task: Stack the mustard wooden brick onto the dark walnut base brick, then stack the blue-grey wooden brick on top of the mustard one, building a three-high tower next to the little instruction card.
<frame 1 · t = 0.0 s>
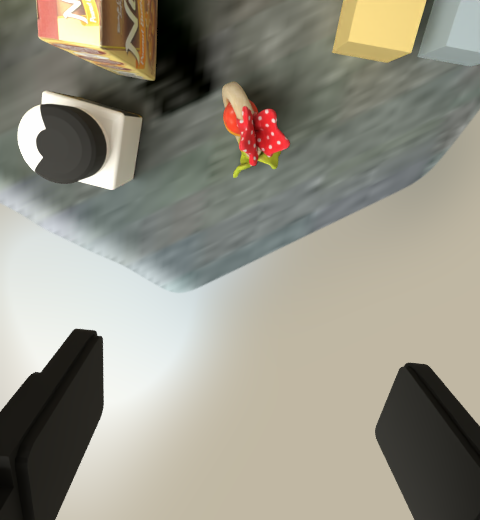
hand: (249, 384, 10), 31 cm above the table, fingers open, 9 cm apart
mustard brick: (367, 24, 33), on the table
candy box: (137, 29, 33), on the table
medicine bottle: (107, 140, 37), on the table
bird rattle: (243, 132, 37), on the table
bluegrey brick: (454, 28, 34), on the table
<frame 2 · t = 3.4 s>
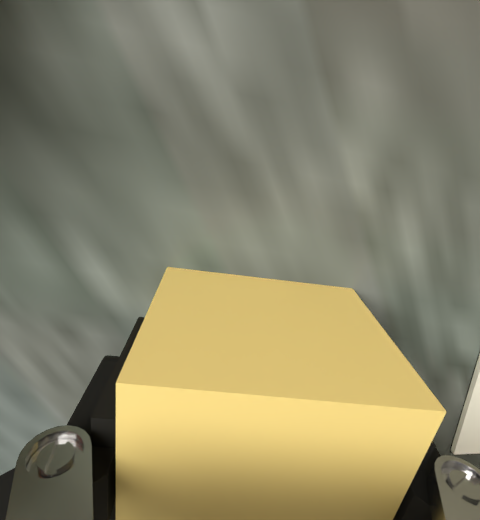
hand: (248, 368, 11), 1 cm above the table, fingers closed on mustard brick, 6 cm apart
mustard brick: (248, 354, 12), on the table, touching gripper
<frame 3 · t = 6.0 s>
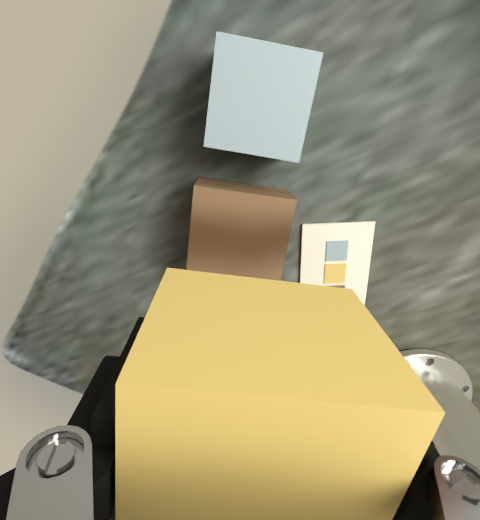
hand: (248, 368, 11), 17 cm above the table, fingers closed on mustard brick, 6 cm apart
base brick: (237, 226, 27), on the table
mustard brick: (247, 354, 12), point 17 cm above the table, touching gripper
instruction card: (334, 272, 29), on the table
bluegrey brick: (254, 106, 24), on the table
when the fingers open (6 cm above the table, at t = 8.5 s): mustard brick stays where it is, resting on base brick.
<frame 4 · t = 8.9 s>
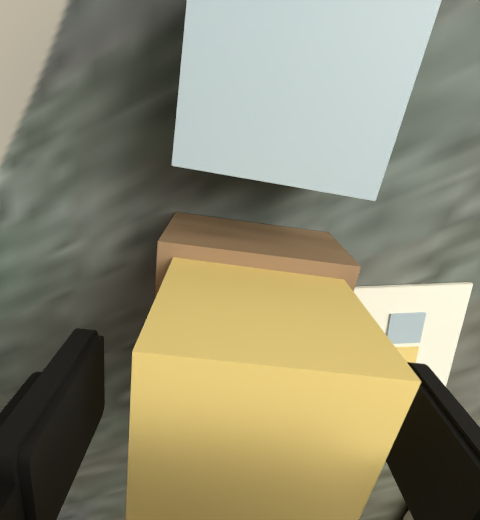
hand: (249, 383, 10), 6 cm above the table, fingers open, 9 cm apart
base brick: (242, 290, 16), on the table
mustard brick: (246, 340, 12), point 4 cm above the table, touching base brick
instruction card: (396, 358, 18), on the table
bluegrey brick: (275, 87, 13), on the table
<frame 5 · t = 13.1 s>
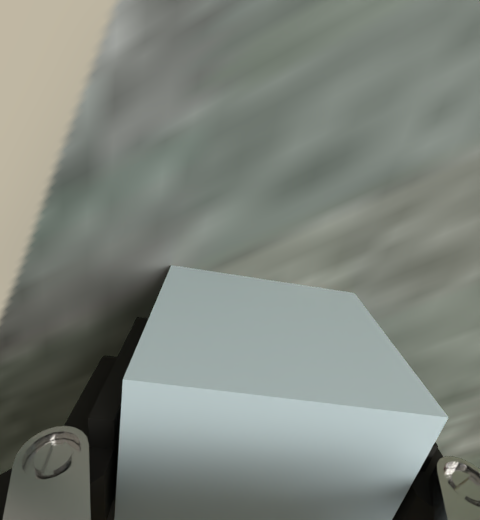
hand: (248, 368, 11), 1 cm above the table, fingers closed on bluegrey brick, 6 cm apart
bluegrey brick: (247, 355, 12), on the table, touching gripper
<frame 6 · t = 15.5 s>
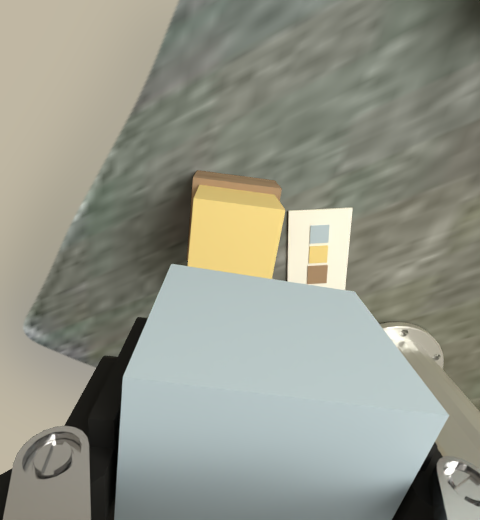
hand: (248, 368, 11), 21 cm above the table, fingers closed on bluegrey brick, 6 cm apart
base brick: (231, 213, 31), on the table
mustard brick: (232, 226, 27), point 4 cm above the table, touching base brick
instruction card: (317, 253, 32), on the table
bluegrey brick: (247, 354, 12), point 21 cm above the table, touching gripper
when the fingers open (11 cm above the table, at t = 18.1 s): bluegrey brick stays where it is, resting on mustard brick.
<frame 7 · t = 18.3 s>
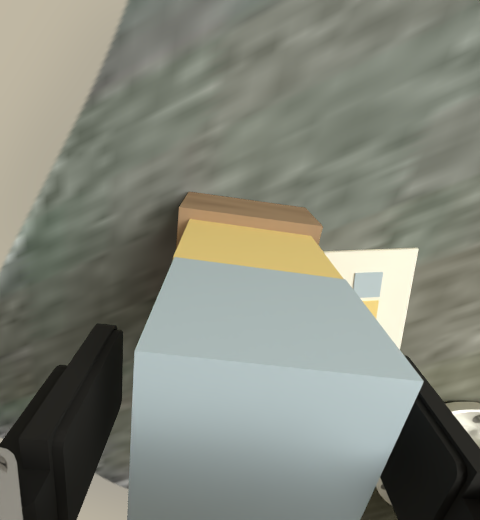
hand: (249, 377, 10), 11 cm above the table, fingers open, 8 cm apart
base brick: (239, 254, 21), on the table
mustard brick: (241, 282, 17), point 4 cm above the table, touching base brick, bluegrey brick
instruction card: (362, 310, 23), on the table
bluegrey brick: (247, 340, 12), point 9 cm above the table, touching mustard brick
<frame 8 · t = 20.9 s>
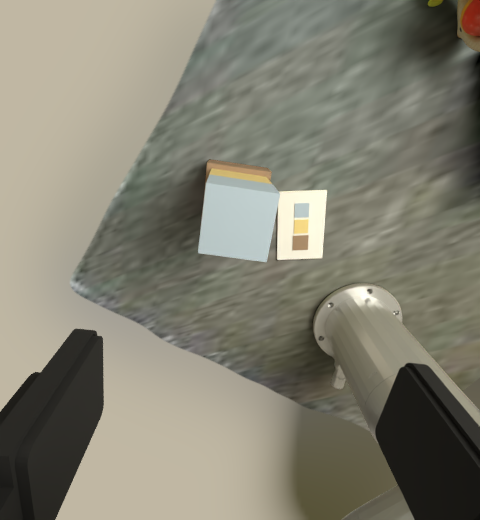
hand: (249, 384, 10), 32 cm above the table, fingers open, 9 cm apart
base brick: (234, 193, 40), on the table
mustard brick: (235, 199, 36), point 4 cm above the table, touching base brick, bluegrey brick
bird rattle: (454, 9, 34), on the table
instruction card: (300, 225, 42), on the table
bluegrey brick: (236, 210, 32), point 9 cm above the table, touching mustard brick
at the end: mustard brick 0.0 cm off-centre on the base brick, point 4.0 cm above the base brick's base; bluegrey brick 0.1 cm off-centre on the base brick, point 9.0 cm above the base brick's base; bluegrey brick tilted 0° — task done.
